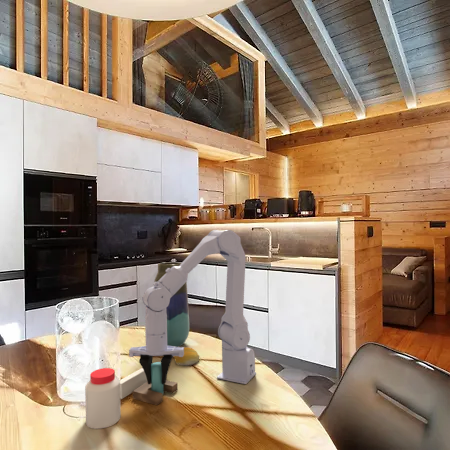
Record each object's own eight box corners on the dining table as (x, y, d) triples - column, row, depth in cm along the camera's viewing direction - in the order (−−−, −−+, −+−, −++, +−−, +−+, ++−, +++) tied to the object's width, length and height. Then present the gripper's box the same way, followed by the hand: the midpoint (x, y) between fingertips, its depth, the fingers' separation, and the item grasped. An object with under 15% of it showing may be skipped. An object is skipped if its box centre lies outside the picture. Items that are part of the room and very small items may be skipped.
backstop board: (151, 380, 101) (150, 366, 101) (121, 399, 91) (121, 383, 91) (145, 379, 102) (145, 365, 102) (115, 397, 92) (115, 382, 92)
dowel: (165, 392, 94) (165, 363, 94) (159, 397, 91) (158, 367, 91) (156, 390, 95) (155, 361, 95) (149, 395, 92) (148, 365, 92)
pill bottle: (83, 431, 77) (82, 382, 77) (87, 413, 84) (87, 368, 84) (120, 425, 79) (119, 377, 79) (121, 408, 86) (120, 364, 86)
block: (177, 389, 95) (177, 382, 95) (157, 405, 87) (156, 397, 87) (154, 384, 99) (154, 377, 99) (132, 398, 91) (132, 390, 91)
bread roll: (176, 368, 111) (176, 355, 111) (173, 358, 119) (173, 346, 119) (202, 364, 113) (201, 352, 113) (196, 355, 122) (196, 343, 122)
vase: (196, 342, 134) (195, 262, 135) (173, 353, 123) (171, 265, 123) (169, 336, 142) (168, 260, 142) (145, 347, 130) (143, 264, 130)
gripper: (185, 327, 96) (186, 376, 96) (134, 327, 97) (135, 376, 97) (180, 335, 89) (181, 388, 89) (126, 335, 90) (126, 387, 90)
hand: (157, 382), depth 93 cm, fingers closed on dowel, 3 cm apart
